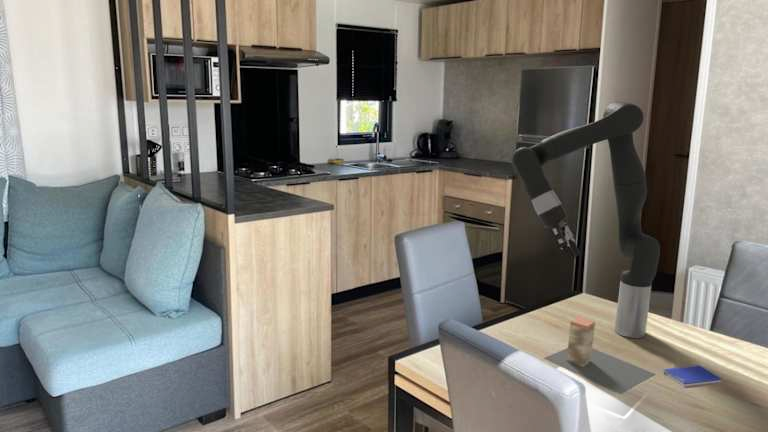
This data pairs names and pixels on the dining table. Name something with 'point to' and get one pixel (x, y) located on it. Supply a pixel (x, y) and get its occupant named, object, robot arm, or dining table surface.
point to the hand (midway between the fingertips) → (574, 257)
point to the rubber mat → (604, 370)
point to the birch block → (580, 341)
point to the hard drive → (691, 375)
